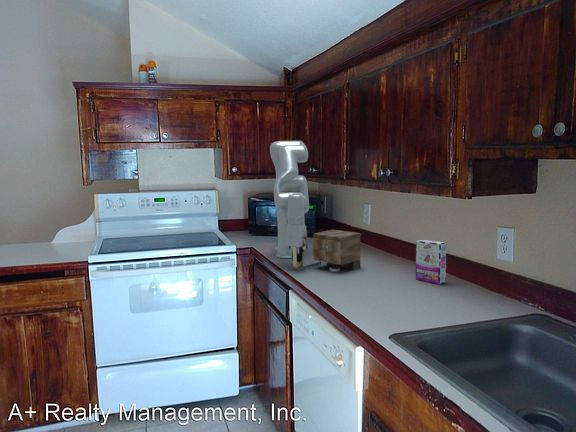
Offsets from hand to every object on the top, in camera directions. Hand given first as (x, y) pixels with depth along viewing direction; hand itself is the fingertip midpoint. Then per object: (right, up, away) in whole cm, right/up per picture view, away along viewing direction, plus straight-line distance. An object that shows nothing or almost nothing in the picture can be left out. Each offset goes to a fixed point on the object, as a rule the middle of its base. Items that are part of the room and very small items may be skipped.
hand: (297, 260), depth 197 cm
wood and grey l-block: (+5, -4, +5) cm, 8 cm away
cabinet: (+19, -4, +2) cm, 19 cm away
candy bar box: (+54, -6, -23) cm, 59 cm away
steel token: (+17, -4, -2) cm, 18 cm away
